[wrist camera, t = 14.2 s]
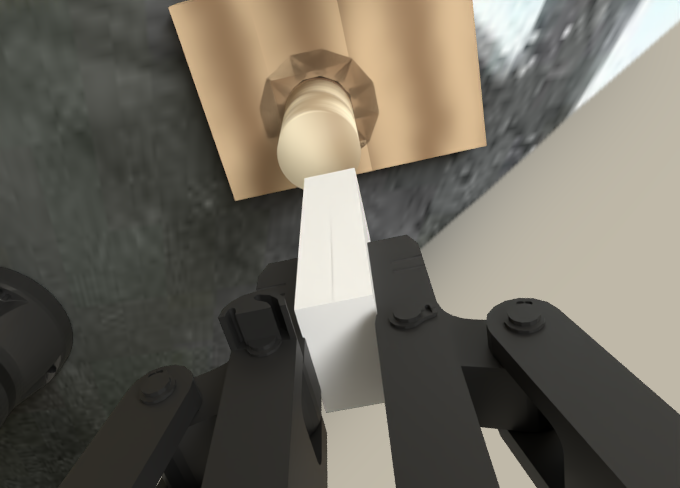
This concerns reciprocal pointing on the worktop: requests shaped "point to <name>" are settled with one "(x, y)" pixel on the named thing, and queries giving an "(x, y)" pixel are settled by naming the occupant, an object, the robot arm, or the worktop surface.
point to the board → (334, 77)
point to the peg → (317, 131)
